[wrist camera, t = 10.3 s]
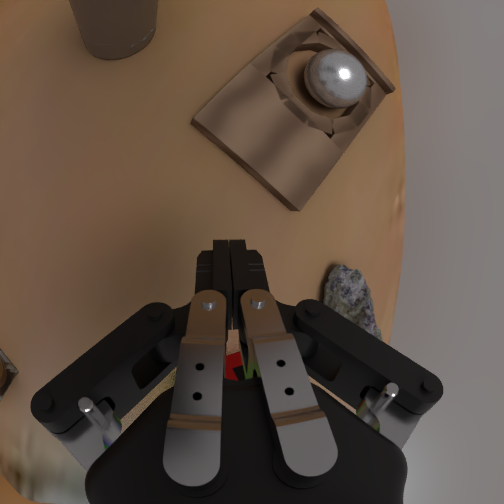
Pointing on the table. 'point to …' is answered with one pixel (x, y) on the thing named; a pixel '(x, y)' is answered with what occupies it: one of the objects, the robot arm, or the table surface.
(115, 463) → the robot arm
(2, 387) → the coffee box
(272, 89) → the wooden ball holder
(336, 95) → the steel ball
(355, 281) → the mineral rock
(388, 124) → the table surface
